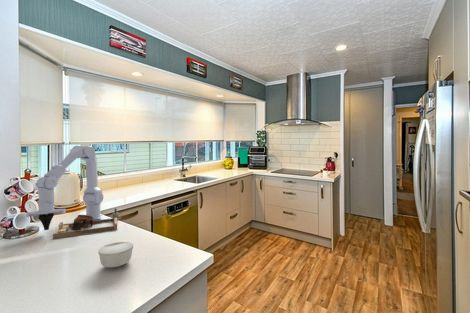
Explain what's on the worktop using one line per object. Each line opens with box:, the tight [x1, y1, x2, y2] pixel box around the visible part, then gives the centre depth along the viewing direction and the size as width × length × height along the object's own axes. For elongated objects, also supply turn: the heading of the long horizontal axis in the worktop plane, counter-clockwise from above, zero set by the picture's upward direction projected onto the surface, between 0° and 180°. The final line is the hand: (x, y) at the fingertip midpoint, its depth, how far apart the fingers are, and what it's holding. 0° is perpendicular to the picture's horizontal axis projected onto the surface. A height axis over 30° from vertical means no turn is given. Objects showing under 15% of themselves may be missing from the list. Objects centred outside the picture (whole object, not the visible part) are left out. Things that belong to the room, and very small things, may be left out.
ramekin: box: [97, 241, 134, 268], centre depth 81 cm, size 11×11×5 cm
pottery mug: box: [70, 214, 94, 231], centre depth 118 cm, size 12×9×8 cm
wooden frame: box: [52, 207, 119, 239], centre depth 118 cm, size 18×27×8 cm, turn 118°
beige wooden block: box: [56, 221, 70, 233], centre depth 113 cm, size 11×3×4 cm, turn 28°
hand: (46, 229), depth 109 cm, fingers closed
